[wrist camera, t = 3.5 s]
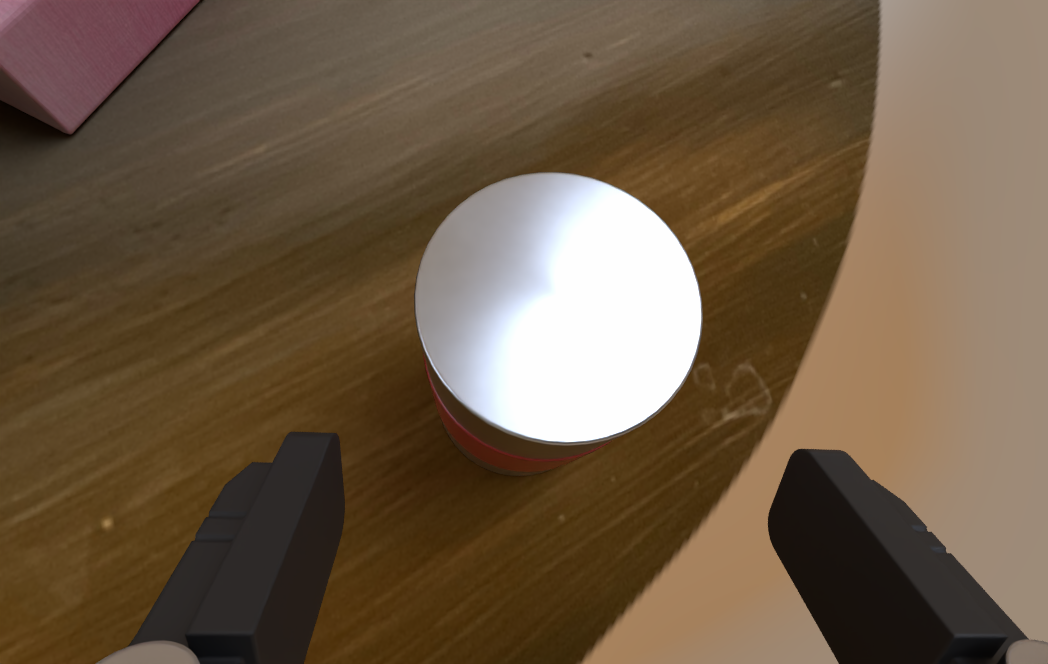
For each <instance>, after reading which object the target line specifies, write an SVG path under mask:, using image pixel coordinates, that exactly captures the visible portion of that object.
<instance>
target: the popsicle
mask: <svg viewBox="0 0 1048 664" xmlns="http://www.w3.org/2000/svg"><path fill="white" fill-rule="evenodd" d="M199 1H200V0H0V100H1V101H3V102H5V103H7V104H9V105H11V106H13V107H15V108H17V109H19V110H21V111H23V112H25V113H27V114H29V115H31V116H33V117H35V118H37V119H39V120H41V121H43V122H45V123H47V124H48V125H50V126H52V127H54V128H56V129H58V130H60V131H62V132H64V133H66V134H72V133H73V132H74V131H75V130H76V129H77V128H78V127H79V126H80V125H81V124H82V123H83V122H84V121H85V120H86V119H87V118H88V117H89V116H90V115H91V113H92V112H93V111H94V110H95V109H96V108H97V107H98V106H99V105H100V104H101V103H102V102H103V101H104V100H105V99H106V98H107V97H108V96H109V95H110V94H111V93H112V92H113V91H114V90H115V88H116V87H117V86H118V85H119V84H120V83H121V82H122V81H123V80H124V79H125V78H126V77H127V76H128V75H129V74H130V73H131V72H132V71H133V70H134V69H135V68H136V67H137V66H138V65H139V63H140V62H141V61H142V60H143V59H144V58H145V57H146V56H147V55H148V54H149V53H150V52H151V51H152V50H153V49H154V48H155V47H156V46H157V45H158V44H159V43H160V42H161V41H162V39H163V38H164V37H165V36H166V35H167V34H168V33H169V32H170V31H171V30H172V29H173V28H174V27H175V26H176V25H177V24H178V23H179V22H180V21H181V20H182V19H183V18H184V17H185V16H186V14H187V13H188V12H189V11H190V10H191V9H192V8H193V7H194V6H195V5H196V4H197V3H198V2H199Z"/></svg>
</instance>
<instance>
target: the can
mask: <svg viewBox="0 0 1048 664" xmlns="http://www.w3.org/2000/svg"><path fill="white" fill-rule="evenodd" d="M414 309H415V319H416V325H417V331H418V335H419V339H420V343H421V347H422V350H423V357H424V363H425V369H426V373H427V376H428V380H429V383H430V387H431V390H432V394H433V397H434V401H435V404H436V407H437V410H438V413H439V415H440V417H441V420H442V423H443V425H444V428H445V430H446V432H447V434H448V436H449V437H450V439H451V440H452V442H453V443H454V444H455V446H456V447H457V448H458V449H459V450H460V451H461V452H462V453H463V454H464V455H465V456H466V457H467V458H468V459H470V460H471V461H473V462H474V463H476V464H477V465H479V466H481V467H483V468H485V469H487V470H490V471H492V472H495V473H499V474H504V475H509V476H528V475H534V474H539V473H542V472H545V471H548V470H551V469H554V468H557V467H559V466H562V465H565V464H567V463H570V462H572V461H574V460H576V459H578V458H580V457H583V456H585V455H587V454H589V453H591V452H594V451H595V450H597V449H599V448H601V447H603V446H605V445H607V444H608V443H610V442H611V441H612V440H614V439H616V438H618V437H620V436H622V435H624V434H626V433H628V432H630V431H632V430H634V429H636V428H638V427H640V426H642V425H643V424H644V423H646V422H647V421H649V420H650V419H651V418H653V417H654V416H655V415H657V414H658V413H659V412H660V411H661V410H662V409H663V408H664V407H665V406H666V405H667V404H668V403H669V402H670V401H671V400H672V399H673V398H674V396H675V395H676V394H677V392H678V391H679V390H680V388H681V387H682V386H683V384H684V382H685V380H686V378H687V377H688V375H689V373H690V371H691V369H692V366H693V364H694V361H695V359H696V356H697V353H698V348H699V344H700V340H701V332H702V321H703V316H702V300H701V294H700V289H699V284H698V281H697V277H696V274H695V271H694V268H693V266H692V264H691V261H690V259H689V257H688V255H687V253H686V251H685V249H684V248H683V246H682V245H681V243H680V241H679V240H678V238H677V237H676V235H675V234H674V233H673V232H672V230H671V229H670V228H669V227H668V225H667V224H666V223H665V222H664V221H663V220H662V219H661V218H660V217H659V216H658V215H657V214H656V213H655V212H654V211H653V210H652V209H650V208H649V207H648V206H646V205H645V204H644V203H643V202H641V201H640V200H639V199H637V198H635V197H634V196H632V195H630V194H629V193H627V192H626V191H624V190H622V189H620V188H617V187H615V186H613V185H611V184H609V183H606V182H603V181H600V180H597V179H594V178H591V177H586V176H582V175H577V174H570V173H561V172H539V173H531V174H524V175H519V176H515V177H511V178H507V179H504V180H502V181H499V182H497V183H494V184H492V185H489V186H487V187H486V188H484V189H482V190H480V191H478V192H476V193H475V194H473V195H472V196H470V197H469V198H468V199H466V200H465V201H463V202H462V203H461V204H460V205H459V206H458V207H456V208H455V209H454V210H453V211H452V212H451V213H450V214H449V215H448V216H447V217H446V218H445V220H444V221H443V222H442V223H441V225H440V226H439V227H438V228H437V230H436V231H435V233H434V235H433V236H432V238H431V240H430V241H429V243H428V245H427V247H426V250H425V252H424V254H423V257H422V259H421V262H420V266H419V269H418V273H417V277H416V284H415V293H414Z"/></svg>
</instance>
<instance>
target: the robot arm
mask: <svg viewBox="0 0 1048 664" xmlns="http://www.w3.org/2000/svg"><path fill="white" fill-rule="evenodd" d="M344 512H345V499H344V487H343V475H342V463H341V451H340V441H339V437H338V435H337V434H336V433H315V432H290V433H288V435H287V436H286V438H285V439H284V441H283V443H282V445H281V447H280V449H279V451H278V453H277V455H276V457H275V459H274V461H273V463H258V462H252V463H251V464H250V465H248V466H247V467H246V468H245V469H244V470H242V471H241V472H240V473H239V474H238V475H236V476H235V477H234V478H233V479H232V480H230V481H229V482H228V483H227V484H226V485H225V486H224V488H223V489H222V491H221V493H220V495H219V496H218V498H217V500H216V501H215V503H214V505H213V506H212V508H211V510H210V511H209V517H206V518H205V520H204V521H203V523H202V525H201V527H200V528H199V530H198V532H197V533H196V538H195V541H192V542H191V543H190V545H189V547H188V548H187V550H186V552H185V553H184V555H183V557H182V559H181V560H180V562H179V564H178V565H177V567H176V569H175V570H174V572H173V574H172V575H171V577H170V579H169V580H168V582H167V584H166V585H165V587H164V589H163V591H162V592H161V594H160V596H159V597H158V599H157V601H156V602H155V604H154V606H153V607H152V609H151V611H150V612H149V614H148V616H147V617H146V619H145V621H144V623H143V624H142V626H141V628H140V629H139V631H138V633H137V634H136V636H135V637H134V639H133V640H132V642H131V643H130V644H129V646H128V647H126V648H124V649H122V650H119V651H117V652H115V653H113V654H111V655H109V656H107V657H106V658H104V659H102V660H100V661H99V662H98V663H96V664H304V660H305V657H306V654H307V650H308V647H309V643H310V640H311V637H312V633H313V630H314V627H315V623H316V620H317V617H318V613H319V610H320V606H321V603H322V600H323V596H324V593H325V590H326V586H327V583H328V579H329V576H330V573H331V569H332V566H333V563H334V559H335V556H336V553H337V549H338V546H339V542H340V539H341V534H342V529H343V523H344ZM926 528H927V527H926V525H925V524H924V523H923V522H922V521H921V520H920V519H919V518H918V517H917V515H916V514H915V513H914V512H913V511H912V510H911V509H910V508H909V507H908V506H907V504H906V503H905V502H904V501H902V500H901V499H900V498H898V497H897V496H895V495H894V494H893V493H891V492H890V491H888V490H887V489H886V488H884V487H883V486H881V485H880V484H878V483H877V482H876V481H874V480H871V479H870V478H869V477H868V476H867V475H866V474H865V473H864V471H863V470H862V469H861V468H860V467H859V466H858V465H857V464H856V462H855V461H854V460H853V459H852V458H851V457H850V456H849V455H848V454H847V453H846V452H844V451H841V450H819V449H818V450H817V449H798V450H796V451H795V452H794V453H793V454H792V455H791V457H790V459H789V461H788V464H787V466H786V469H785V472H784V474H783V477H782V480H781V482H780V485H779V488H778V490H777V493H776V495H775V498H774V500H773V503H772V506H771V508H770V512H769V516H768V531H769V536H770V540H771V543H772V545H773V547H774V549H775V551H776V553H777V555H778V556H779V558H780V560H781V562H782V563H783V565H784V567H785V569H786V570H787V572H788V574H789V576H790V578H791V579H792V581H793V583H794V585H795V587H796V588H797V590H798V592H799V594H800V595H801V597H802V599H803V601H804V602H805V604H806V606H807V608H808V609H809V611H810V613H811V614H812V617H813V618H814V620H815V622H816V624H817V625H818V627H819V629H820V631H821V632H822V634H823V636H824V638H825V640H826V641H827V643H828V645H829V647H830V648H831V650H832V652H833V653H834V655H835V657H836V659H837V661H838V663H839V664H1048V643H1047V642H1044V641H1038V640H1029V639H1028V638H1027V637H1026V636H1025V635H1024V633H1023V632H1022V631H1021V630H1020V629H1019V628H1018V627H1017V626H1016V625H1015V624H1014V623H1013V622H1012V620H1011V619H1010V618H1009V617H1008V616H1007V615H1006V614H1005V612H1004V611H1003V610H1002V609H1001V608H1000V607H999V606H998V605H997V604H996V603H995V602H994V600H993V599H992V598H991V597H990V596H989V595H988V594H987V593H986V592H985V590H983V588H982V587H981V586H980V585H979V584H978V583H977V582H976V581H975V579H974V578H973V577H972V576H971V575H970V574H969V573H968V572H967V571H966V569H965V568H964V567H963V566H962V565H961V564H960V563H959V562H958V561H957V560H956V558H955V557H954V556H953V555H952V554H951V553H950V554H949V553H946V547H945V546H944V545H943V544H942V543H941V542H940V541H939V540H938V539H937V538H936V536H935V535H934V534H933V533H932V532H928V531H927V529H926Z"/></svg>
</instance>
